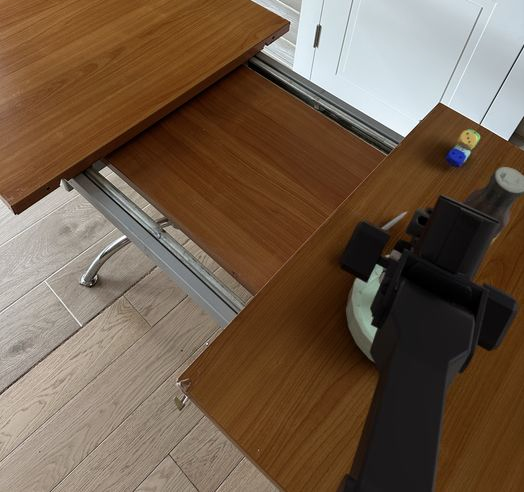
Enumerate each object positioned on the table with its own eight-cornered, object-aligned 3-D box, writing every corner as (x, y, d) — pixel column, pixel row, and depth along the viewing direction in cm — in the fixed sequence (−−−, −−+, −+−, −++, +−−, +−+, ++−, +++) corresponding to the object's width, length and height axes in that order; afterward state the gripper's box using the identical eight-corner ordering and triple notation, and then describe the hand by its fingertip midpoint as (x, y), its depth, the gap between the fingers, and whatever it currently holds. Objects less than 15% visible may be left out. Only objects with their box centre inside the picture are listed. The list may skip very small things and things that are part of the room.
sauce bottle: (422, 246, 79) (471, 164, 64) (454, 232, 81) (508, 150, 66) (449, 282, 75) (507, 204, 60) (482, 267, 77) (545, 188, 63)
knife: (403, 215, 83) (407, 208, 81) (406, 218, 82) (410, 211, 81) (337, 262, 76) (339, 256, 75) (340, 266, 76) (342, 259, 74)
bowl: (478, 332, 71) (491, 318, 67) (405, 404, 64) (416, 392, 60) (396, 251, 78) (404, 236, 75) (322, 308, 71) (328, 293, 68)
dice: (454, 175, 89) (468, 151, 84) (440, 167, 90) (453, 142, 85) (473, 150, 94) (487, 125, 89) (460, 142, 95) (473, 118, 90)
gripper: (558, 274, 47) (528, 248, 62) (372, 182, 53) (385, 178, 68) (502, 378, 48) (485, 328, 63) (325, 277, 54) (348, 253, 69)
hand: (424, 268), depth 66 cm, fingers closed
